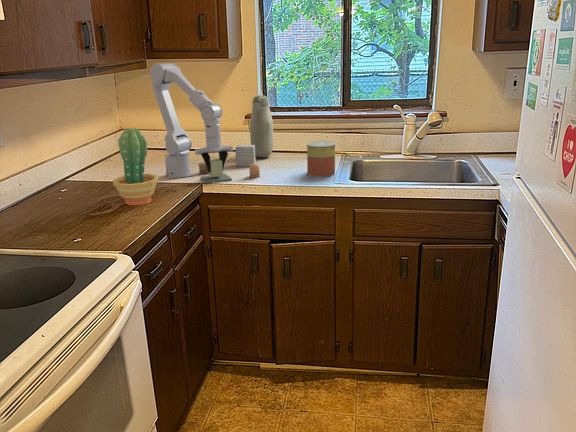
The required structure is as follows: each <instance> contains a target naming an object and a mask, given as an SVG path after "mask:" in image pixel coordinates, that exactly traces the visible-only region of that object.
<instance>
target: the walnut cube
mask: <svg viewBox="0 0 576 432" xmlns="http://www.w3.org/2000/svg"><path fill="white" fill-rule="evenodd" d="M198 171H199V174H201V175H202V176H207V175H209V172H208V170H207V166H206V164H205V162H202V163H198Z"/></svg>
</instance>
